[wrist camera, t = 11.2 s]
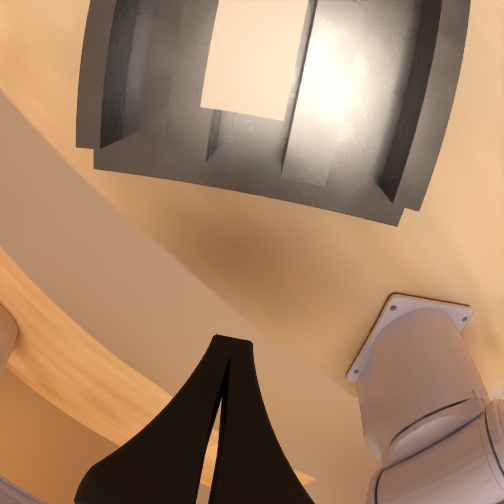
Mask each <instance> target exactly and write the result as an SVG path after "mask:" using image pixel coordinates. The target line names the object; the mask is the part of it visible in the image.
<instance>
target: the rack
mask: <svg viewBox="0 0 504 504" xmlns="http://www.w3.org/2000/svg"><path fill="white" fill-rule="evenodd" d="M470 1H471V0H308V5H307V10H306V15H305V20H304V24H303V29H302V34H301V39H300V44H299V49H298V54H297V59H296V64H295V68H294V73H293V78H292V83H291V88H290V93H289V97H288V102H287V107H286V112H285V117H284V121H281V120H276V119H271V118H265V117H260V116H255V115H249V114H243V113H237V112H231V111H224V110H217V109H210V108H202V107H200V105H201V98H202V91H203V85H204V79H205V73H206V67H207V61H208V55H209V49H210V44H211V39H212V33H213V28H214V23H215V18H216V13H217V8H218V3H219V0H91V1H90V6H89V11H88V16H87V22H86V28H85V34H84V40H83V48H82V55H81V64H80V73H79V85H78V98H77V117H76V147H78V148H90V149H94V169H98V170H106V171H114V172H121V173H128V174H135V175H142V176H149V177H156V178H162V179H169V180H175V181H181V182H187V183H193V184H199V185H205V186H211V187H216V188H222V189H227V190H233V191H238V192H243V193H249V194H254V195H259V196H264V197H269V198H274V199H279V200H284V201H289V202H293V203H298V204H303V205H307V206H312V207H316V208H321V209H325V210H330V211H334V212H339V213H343V214H347V215H351V216H356V217H360V218H364V219H368V220H372V221H376V222H380V223H384V224H388V225H392V226H396V227H397V226H398V223H399V221H400V218H401V215H402V213H403V210H404V207H405V208H408V209H412V210H415V211H418V212H419V210H420V207H421V205H422V202H423V199H424V196H425V194H426V191H427V188H428V185H429V182H430V179H431V176H432V173H433V170H434V167H435V164H436V161H437V158H438V155H439V152H440V148H441V145H442V142H443V138H444V135H445V131H446V128H447V124H448V120H449V116H450V113H451V109H452V105H453V101H454V96H455V92H456V88H457V83H458V78H459V74H460V69H461V64H462V58H463V53H464V47H465V41H466V34H467V27H468V19H469V11H470Z"/></svg>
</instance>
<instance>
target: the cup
mask: <svg viewBox="0 0 504 504" xmlns="http://www.w3.org/2000/svg"><path fill="white" fill-rule="evenodd" d="M17 334H18V327H17V324H16V322H15V320H14V319H13V317H12V316H11V315H10V313H9V312H8V311H7V310H6V309H5V308H4V307H3V306H2V305H0V377H1V375H2V373H3V371H4V368H5V366H6V364H7V361H8V359H9V357H10V355H11V353H12V350H13V346H14V343H15V340H16V337H17Z"/></svg>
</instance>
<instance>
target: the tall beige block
mask: <svg viewBox="0 0 504 504" xmlns="http://www.w3.org/2000/svg"><path fill="white" fill-rule="evenodd" d="M307 5H308V0H219V3H218V8H217V13H216V18H215V23H214V28H213V33H212V39H211V44H210V49H209V55H208V61H207V67H206V73H205V79H204V85H203V91H202V98H201V105H200V107H202V108H210V109H217V110H224V111H231V112H237V113H243V114H249V115H255V116H260V117H265V118H271V119H276V120H281V121H284V117H285V112H286V107H287V102H288V97H289V93H290V88H291V83H292V78H293V73H294V68H295V64H296V59H297V54H298V49H299V44H300V39H301V34H302V29H303V24H304V20H305V15H306V10H307Z"/></svg>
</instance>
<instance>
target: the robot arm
mask: <svg viewBox="0 0 504 504" xmlns="http://www.w3.org/2000/svg"><path fill="white" fill-rule="evenodd" d="M393 305H395V306H394V307H392V308H390V307H391V306H393ZM472 313H473V310H472V308H471V307H469V306H464V305H458V304H452V303H446V302H440V301H435V300H429V299H423V298H417V297H412V296H406V295H400V294H394V295H392V296H391V297H390V298H389V299H388V301H387V303H386V305H385V307H384V309H383V311H382V313H381V315H380V317H379V319H378V321H377V323H376V324H375V326H374V328H373V330H372V332H371V334H370V335H369V337H368V339H367V341H366V343H365V344H364V346H363V348H362V350H361V351H360V353H359V355H358V357H357V358H356V360H355V362H354V363H353V365H352V367H351V368H350V370H349V372H348V373H347V375H346V380H347V381H349V382H356V383H357V390H358V397H359V404H360V411H361V418H362V426H363V434H364V438H365V441H366V444H367V446H368V447H369V449H370V450H371V452H372V453H373V454H374V455H375V456H376V457H377V458H379V459H380V460H382V467H381V468H380V469H378V470H377V471H376V472H375V473H374V474H373V476H372V478H371V480H370V483H369V485H368V491H367V504H504V400H501V399H494V400H493V401H492V402H490V399H489V397H488V394H487V392H486V389H485V387H484V385H483V382H482V380H481V377H480V375H479V373H478V371H477V368H476V366H475V364H474V362H473V360H472V357H471V355H470V353H469V351H468V349H467V347H466V345H465V343H464V341H463V339H462V337H461V335H460V332H461V331H462V329H463V328H464V326H465V325H466V323H467V322H468V320H469V318H470V317H471V315H472ZM221 398H222V403H221V415H220V427H219V440H218V450H217V458H216V463H215V469H214V474H213V480H212V485H211V491H210V496H209V502H208V504H315V503H314V502H313V500H312V499H311V498H310V496H309V495H308V493H307V492H306V490H305V489H304V488H303V486H302V484H301V483H300V481H299V480H298V478H297V476H296V475H295V473H294V471H293V469H292V468H291V466H290V464H289V462H288V460H287V459H286V457H285V455H284V453H283V451H282V449H281V447H280V445H279V442H278V440H277V438H276V436H275V433H274V431H273V429H272V426H271V423H270V421H269V418H268V415H267V412H266V409H265V406H264V403H263V399H262V396H261V392H260V388H259V384H258V380H257V375H256V370H255V364H254V356H253V343H252V342H251V341H248V340H243V339H237V338H232V337H227V336H222V335H217V334H216V335H214V336H213V338H212V341H211V343H210V345H209V347H208V349H207V351H206V353H205V354H204V356H203V358H202V360H201V361H200V363H199V364H198V366H197V367H196V369H195V370H194V372H193V373H192V375H191V376H190V378H189V379H188V380H187V382H186V383H185V384H184V386H183V387H182V388H181V389H180V391H179V392H178V393H177V394H176V395H175V397H174V398H173V399H172V400H171V401H170V402H169V404H168V405H167V406H166V407H165V408H164V409H163V410H162V411H161V412H160V413H159V414H158V415H157V416H156V417H155V418H154V419H153V420H152V421H151V422H150V423H149V424H148V425H147V426H146V427H145V428H143V429H142V430H141V431H140V432H139V433H138V434H137V435H135V436H134V437H133V438H132V439H130V440H129V441H128V442H127V443H125V444H124V445H123V446H121V447H120V448H119V449H117V450H116V451H115V452H113V453H112V454H110V455H109V456H107V457H106V458H104V459H103V460H101V461H100V462H98V463H96V464H95V465H93V466H92V467H91V468H90V469H89V471H88V472H87V473H86V475H85V476H84V478H83V479H82V481H81V483H80V485H79V487H78V490H77V493H76V496H75V499H74V502H75V504H196V499H197V494H198V489H199V483H200V478H201V473H202V468H203V463H204V458H205V453H206V449H207V445H208V442H209V438H210V435H211V432H212V428H213V425H214V422H215V418H216V415H217V412H218V408H219V405H220V401H221ZM0 504H50V503H48V502H46V501H44V500H42V499H40V498H38V497H36V496H35V495H33V494H31V493H29V492H28V491H26V490H24V489H22V488H21V487H19V486H17V485H16V484H14V483H12V482H11V481H9V480H8V479H6V478H4V477H3V476H1V475H0Z"/></svg>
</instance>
